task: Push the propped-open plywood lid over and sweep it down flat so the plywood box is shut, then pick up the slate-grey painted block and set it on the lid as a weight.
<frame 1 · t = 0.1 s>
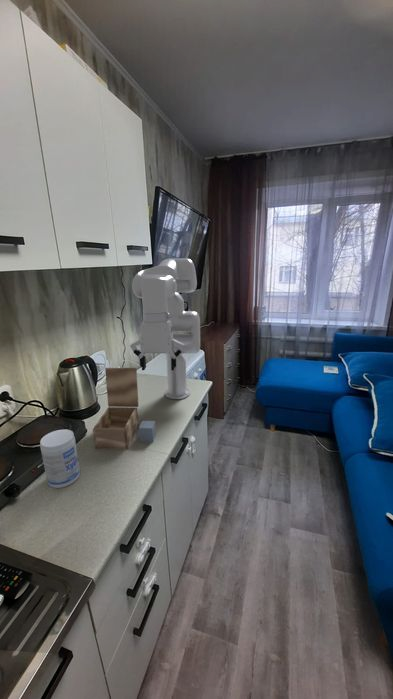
hand: (158, 368, 93), 31 cm above the countertop, tool pointing down, fingers open, 9 cm apart
lid: (122, 387, 115), point 16 cm above the countertop, hinge at 95.0°
supplement tub: (64, 478, 90), on the countertop
box: (118, 435, 111), on the countertop
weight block: (148, 438, 109), on the countertop
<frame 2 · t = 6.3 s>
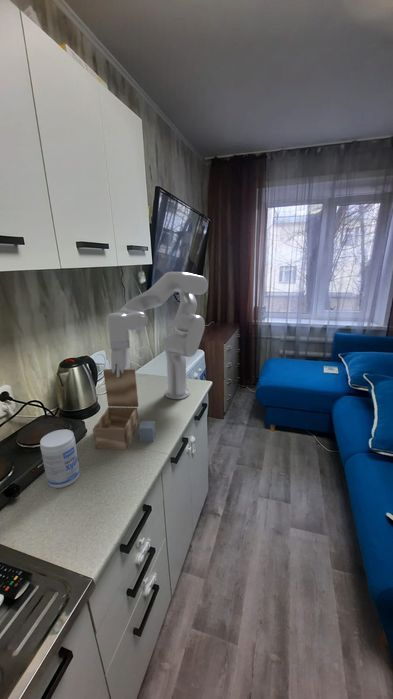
hand: (123, 386, 118), 15 cm above the countertop, tool pointing down, fingers closed
lid: (121, 388, 114), point 16 cm above the countertop, hinge at 87.2°, touching gripper
everything else where it was.
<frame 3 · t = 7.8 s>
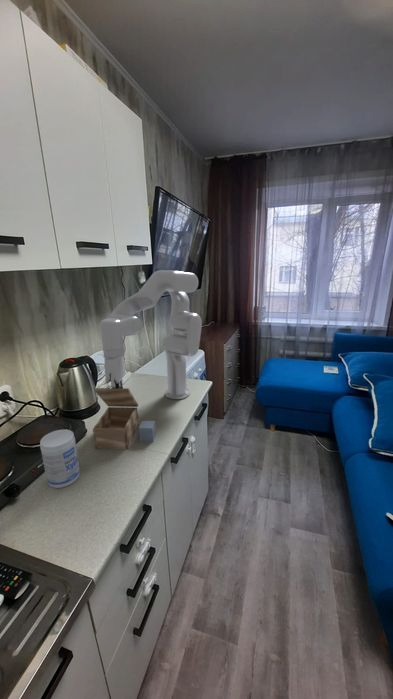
hand: (119, 396, 111), 15 cm above the countertop, tool pointing down, fingers closed
lid: (117, 398, 110), point 15 cm above the countertop, hinge at 48.7°, touching gripper
everything else where it was.
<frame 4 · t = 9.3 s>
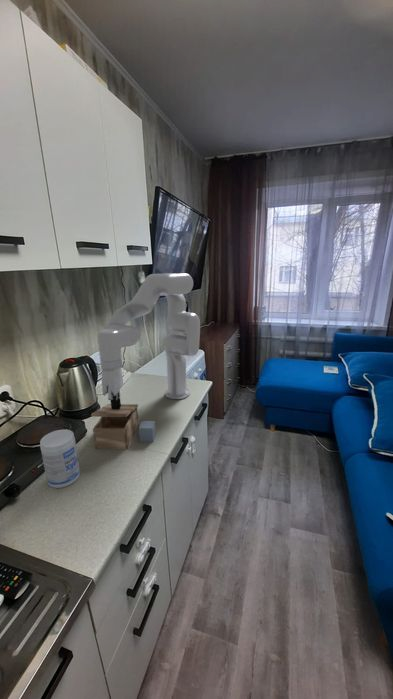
hand: (116, 408, 108), 12 cm above the countertop, tool pointing down, fingers closed
lid: (116, 410, 108), point 11 cm above the countertop, hinge at 16.3°, touching gripper
everything else where it was.
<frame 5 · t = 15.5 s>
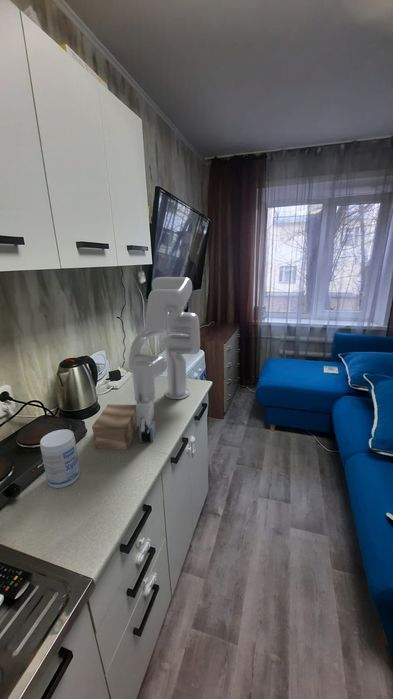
hand: (148, 436, 109), 0 cm above the countertop, tool pointing down, fingers closed on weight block, 5 cm apart
lid: (116, 416, 109), point 9 cm above the countertop, hinge at -0.1°
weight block: (148, 437, 109), on the countertop, touching gripper
everything else where it was.
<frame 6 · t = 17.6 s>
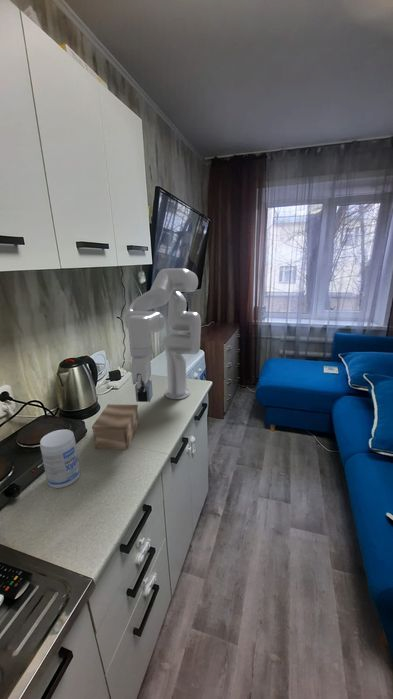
hand: (144, 397, 104), 17 cm above the countertop, tool pointing down, fingers closed on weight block, 5 cm apart
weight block: (144, 398, 105), point 17 cm above the countertop, touching gripper
everything else where it was.
when the fingers open (11 cm above the countertop, at t = 19.9 s): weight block drops 1 cm, resting on lid.
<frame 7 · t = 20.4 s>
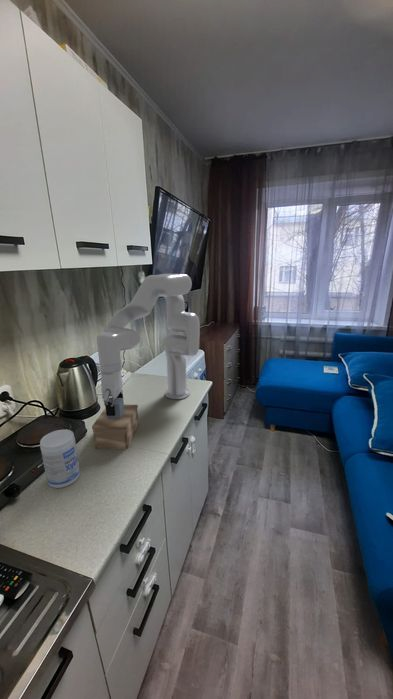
hand: (115, 408, 107), 12 cm above the countertop, tool pointing down, fingers open, 9 cm apart
lid: (116, 416, 109), point 9 cm above the countertop, hinge at -0.1°, touching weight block
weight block: (116, 415, 108), point 9 cm above the countertop, touching lid
everything else where it was.
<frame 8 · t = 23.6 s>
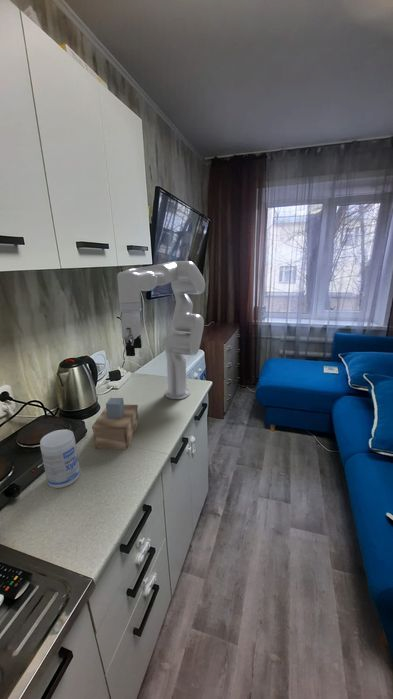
hand: (134, 351, 108), 32 cm above the countertop, tool pointing down, fingers open, 9 cm apart
nothing on the countertop moved.
at the end: lid at +0° (first picture: +95°); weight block inside the target area on the box (0.0 cm from its centre), point 9.1 cm above the box's base; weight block tilted 0° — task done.
